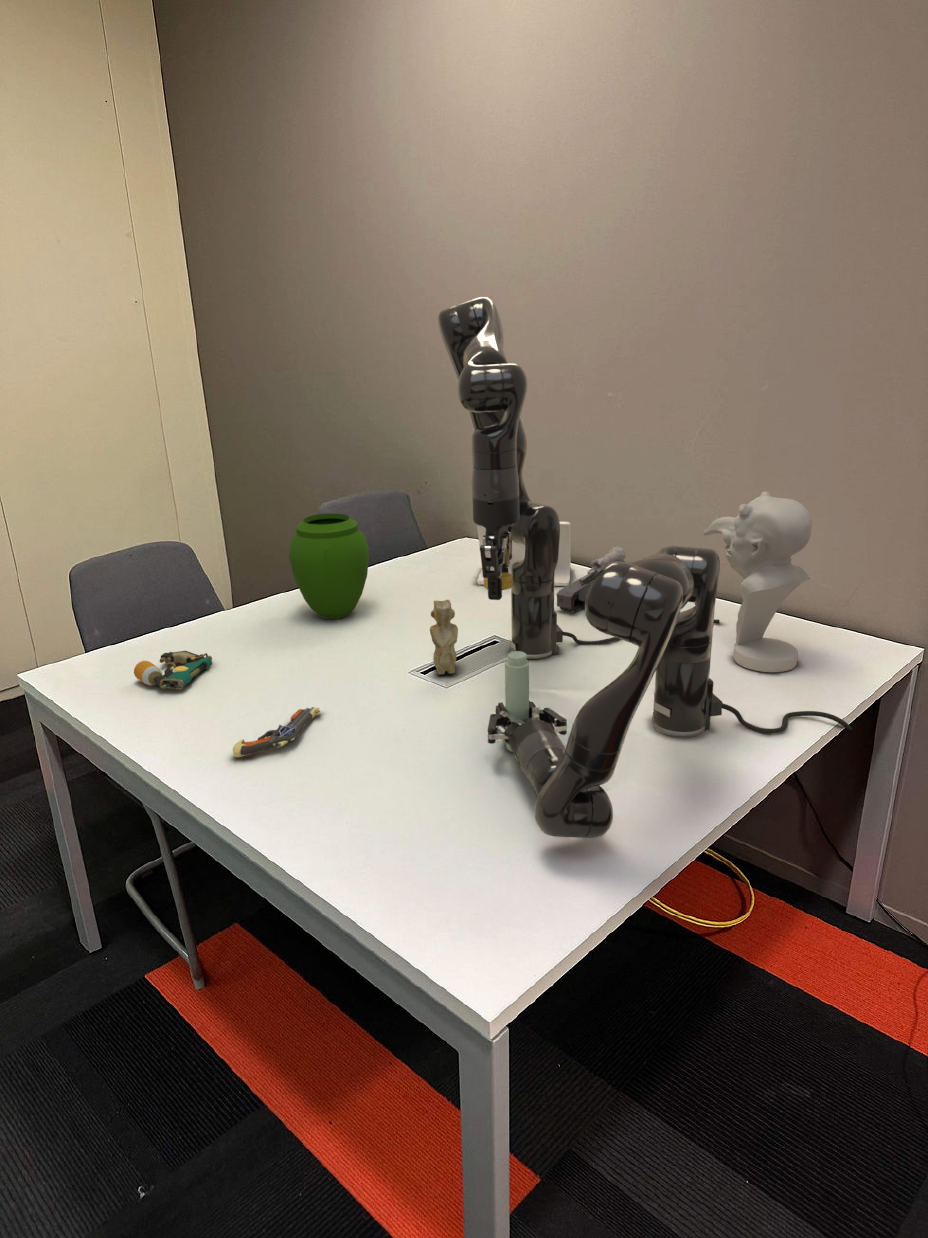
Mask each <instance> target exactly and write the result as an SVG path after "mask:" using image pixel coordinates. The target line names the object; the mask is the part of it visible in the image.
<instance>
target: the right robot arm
mask: <svg viewBox="0 0 928 1238" xmlns="http://www.w3.org/2000/svg"><path fill="white" fill-rule="evenodd" d="M720 571H721V561H720V555H719V553H718V552H717V551H716V550H715V549H712V548H704V547H692V546H681V545H668V546H664V547H662V548H660V549H659V550H657V552H655V554H653V555H652V554H651V555H649V556H647V557H643V558H642V559H638V560H634V561H630V562H627V561H625V562H620V561H614V562H611V563H609V564H608V565H606V566H605V567H604V568H603V569H602V570H601V571H600V572H599V573H598V574H597V575H596V577H595V578H594V580H593V581H592V583H591V585H590V587H589V590H588V592H587V595H586V600H585V606H584V611H585V617H586V620H587V623H589V624H590V626H591V627H593V629H596V630H597V631H599V632H600V633H603V634H605V635H608V636H611V637H616V638H619V639H618V640H622V641H625V642H627V643H630V644H631V645H634V646H637V648H638V649H637V651H636V653H635V655H634V657H633V659H632V660H631V662H630V664H629V665H628V666H627V667H626V668H625V669H624V671H623V672H622V673H621V674H620V675H618V676H616V678H615V679H613V680H612V681H611V682H610V683H609V684H607V685H606V686H605V687H603V688H602V689H601V690H599V691H598V692H596V693H595V694H594V695H592V697H590V698H589V699H588V700H587V701H586V702H584V704H583V705H582V707H581V708H580V709H579V711H578V712H577V714H576V716H575V717H574V720H573V723H572V725H571V730H570V732H569V736H568V739H567V743H566V746H565V744H564V743H563V741H562V740H561V738H560V736H559V735H562V736H565V735H567V734H568V720H567V719H566V718H565V717H564V716H562V715H560V714H559V713H558V712H556V711H554V710H553V709H551V707H543V709H540V708H539V707H537V705H536V703H535V702H534V701H530V699H529V718H527V719H518V718H517V717H516V716H514V715H513V714H511V715H510V714H509V713H507V710H506V708H505V704H504V702H503V701H501V702H497V705H495V713H491V714H490V715H489V720H488V726H487V743H488V744H491V745H493V744H496V741H499V740H500V741H501V740H503V741H504V743H505V744H506V743H507V744H509V745H510V747H511V749H512V752H511V753H512V754H513V756H514V758H515V759H516V761H517V764H518V766H519V768H520V769H521V771H522V772H523V774H524V776H525V777H526V778H527V779H528V782H529V783H530V785H531V787H532V789H533V790H534V792H535V793H536V795H537V798H536V800H535V805H534V818H535V822H536V825H537V827H538V828H539V830H540V831H541V832H542V833H543V834H545V835H547V836H550V837H556V838H577V839H598V838H601V837H603V836H604V835H605V834H606V833H607V832H608V831H609V830H610V828H611V827H612V823H613V820H614V808H613V804H612V801H611V799H610V797H609V794H608V793H607V792H606V790H605V789H604V787H602V785H604V784H607V783H608V782H609V781H610V780H611V779H612V777H613V775H614V772H615V770H616V767H617V764H618V760H619V758H620V755H621V752H622V749H623V746H624V742H625V740H626V737H627V733H628V731H629V729H630V726H631V724H632V721H633V719H634V716H635V715H636V712H637V711H638V708H639V707H640V704H641V702H642V700H643V698H644V696H645V693H646V692H647V690H648V688H649V686H650V684H651V682H652V680H653V677H654V693H653V694H654V695H653V710H652V711H653V712H652V718H651V719H652V720H651V725H652V727H653V728H654V730H656V731H657V732H658V733H660V734H663V735H665V736H670V737H673V738H693V737H696V736H699V735H702V734H703V733H704V732H705V731H710V729H711V719H712V717H719V716H722V711H723V710H726V711H728V712H730V713H732V714H733V715H734V716H735V717H736V719H737V720H738V722H739V723H740V725H742V726H743V727H745V728H747V729H748V730H750V731H753V732H756V733H761V734H767V735H769V734H771V735H772V734H781V733H783V732H784V731H786V730H787V728H788V723H789V722H788V721H789V719H790V718H795V717H820V718H825V719H829V720H831V721H834V722H836V723H837V724H839V725H840V726H841V727H843V728H845V729H846V730H847V731H853V728H852V726H851V725H850V724H849V723H848V722H846V721H845V720H843V719H842V718H840V717H839V716H837V715H835V714H831V713H829V712H823V711H816V710H799V711H790V712H787V713H786V714H785V715H784V716H782V721H781V726H779V727H775V728H764V727H759V726H756V725H753V724H751V723H749V722H748V721H746V720H745V718H743V716H742V714H741V712H740V711H739V710H738V709H736V708H734V707H733V706H731V705H729V704H726V703H723V701H722V699H720V698H719V697H718V696H717V695H715V693H714V685H715V683H714V681H713V679H712V678H710V675H711V674H710V672H711V671H710V670H711V661H712V647H713V636H714V635H713V633H714V623H713V622H714V619H715V609H716V601H717V600H716V599H717V593H718V587H719V582H720V581H719V580H720ZM688 603H694V606H692V607H691V608H689V609H686V610H683V611H681V610H682V609H684V607H686V605H687V604H688ZM499 727H501V728H502V729H503V730H504V731H502V730H501V728H499ZM558 734H559V735H558Z"/></svg>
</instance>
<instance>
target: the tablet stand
mask: <svg viewBox="0 0 928 1238" xmlns="http://www.w3.org/2000/svg"><path fill="white" fill-rule="evenodd" d="M476 531H477V537H478V544H479V547H480V546H481V545H483V535H485V531H486V528H485V527H483V526H479V525H477V524H476ZM524 556H525V545H521V544H518V543H515V542H513V541H512V559H511V560H510V565H509V567H508V573H509V574H511V567H512V564H513V563H515V562H516V561H519V560H522V559H524ZM571 560H572V558H571V522H569V521H560V540H559V556H558V563H557V566H556V568H555V572H554V587H556V586H557V587H566V586H567V585H569V584H570V580H571V579H570V578H571V565H572V564H571ZM490 571H494V567H490ZM476 581H477V582H476V584H478V585H483V586H484V578H483V571H482V569H481V570H480V573H479V575H478V577H477V580H476Z"/></svg>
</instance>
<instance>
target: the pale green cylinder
mask: <svg viewBox="0 0 928 1238" xmlns="http://www.w3.org/2000/svg"><path fill="white" fill-rule="evenodd" d="M526 658H527V655H526V654H525V653H524V652H520V651H513V652H511V651H510V652H508V653H507V657H506V660H505V662H504V703H505V704H504V706H505V708H506V710H507V713H509V714H510V715H511V714H513V715H514V716H516V717H517V718H518V719H527V718H529V700H530V662H529V661H528V659H526ZM505 748H506V750H507V751H509V752H511V753H513V752H512V749H511V747H510V745H509V744H507V743H506V742H505Z"/></svg>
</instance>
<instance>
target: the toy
mask: <svg viewBox="0 0 928 1238" xmlns="http://www.w3.org/2000/svg"><path fill="white" fill-rule="evenodd" d="M626 557H627V556H626V551H625V549H624V548H622V547H621V546H614V547H612V548H611V549H610V550H609V552H608V553H607V554H605V555H604V556H601V557H599V558H598V559H597V557H596V558H594V559H593V560H592V561H590V562H589V563H590V564H591V565H592V567H591V568H590V569H589V570H587V573H586V575H584V576H582V577H580V578H578V579H577V580H575V581H573V582H570V583H569V585H567V586H563V587H562V588H560V589H559V590H558V591H557V592H556V607H558V608H559V609H560V610H562V611H566V612H572V613H575V612H577V611H579V610H581V609H582V608H585V600H586V595H587V592H588V590H589V587H590V585H591V583H592V581H593V580H594V578H595V577H596V575H597V574H598V573H599V572H600V571H601V570H602V569H603V568H604V567H605V566H606V565H608V564H609V563H611V562H614V561H620V562H626V561H625V559H626Z"/></svg>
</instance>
